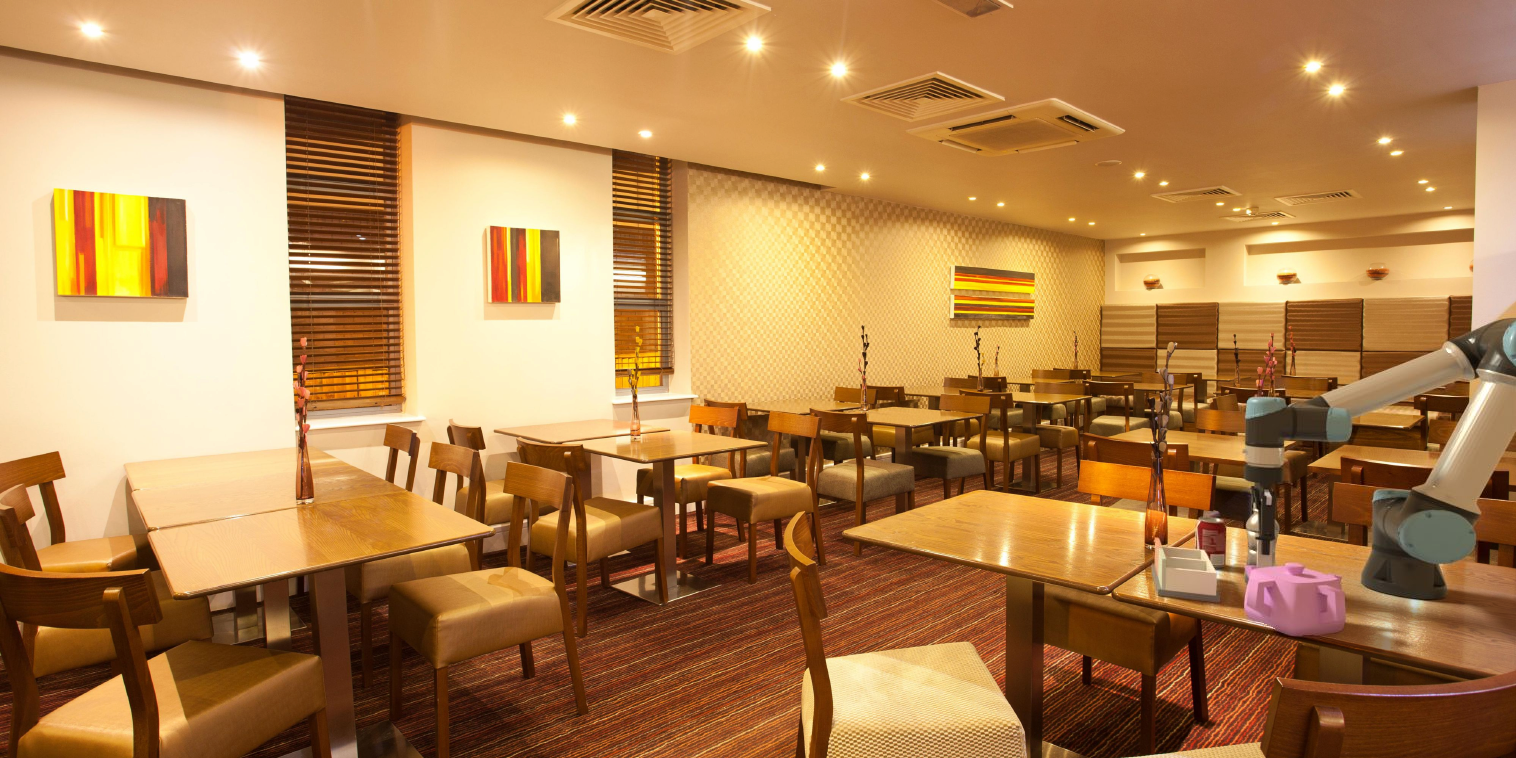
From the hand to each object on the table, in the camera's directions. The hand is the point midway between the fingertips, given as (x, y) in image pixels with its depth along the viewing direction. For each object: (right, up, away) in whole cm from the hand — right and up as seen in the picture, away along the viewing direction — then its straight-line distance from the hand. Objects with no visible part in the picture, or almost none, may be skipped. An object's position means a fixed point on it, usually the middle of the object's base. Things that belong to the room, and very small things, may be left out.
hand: (1261, 563), depth 175 cm
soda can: (0, -5, +19) cm, 20 cm away
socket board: (-16, -6, +3) cm, 18 cm away
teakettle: (-7, -7, -21) cm, 23 cm away
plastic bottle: (0, -6, 0) cm, 6 cm away
